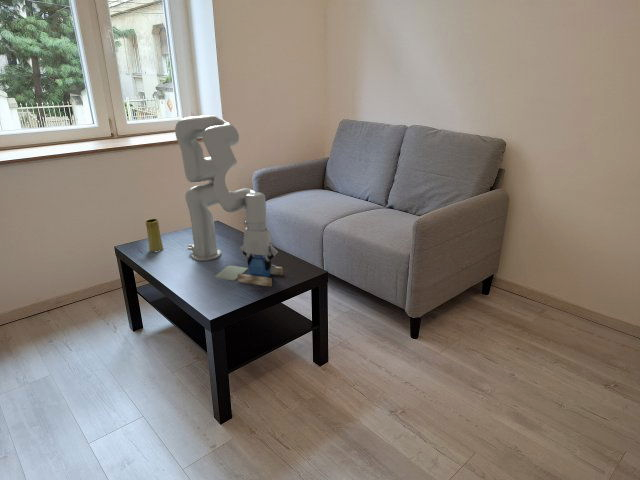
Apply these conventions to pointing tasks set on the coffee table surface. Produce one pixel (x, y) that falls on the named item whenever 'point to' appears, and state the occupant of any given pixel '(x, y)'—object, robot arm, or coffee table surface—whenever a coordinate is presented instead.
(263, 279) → the cradle
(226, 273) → the mat
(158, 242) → the vase
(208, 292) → the coffee table surface
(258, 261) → the perfume bottle
